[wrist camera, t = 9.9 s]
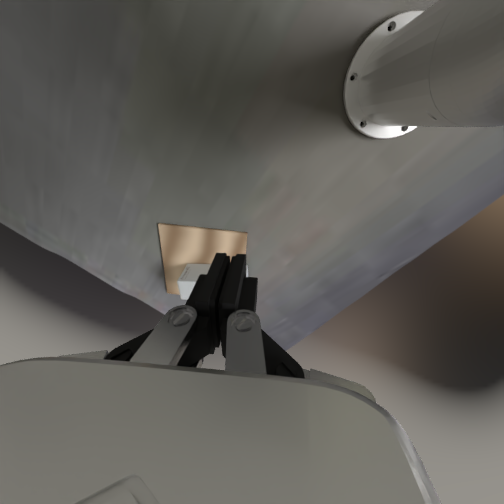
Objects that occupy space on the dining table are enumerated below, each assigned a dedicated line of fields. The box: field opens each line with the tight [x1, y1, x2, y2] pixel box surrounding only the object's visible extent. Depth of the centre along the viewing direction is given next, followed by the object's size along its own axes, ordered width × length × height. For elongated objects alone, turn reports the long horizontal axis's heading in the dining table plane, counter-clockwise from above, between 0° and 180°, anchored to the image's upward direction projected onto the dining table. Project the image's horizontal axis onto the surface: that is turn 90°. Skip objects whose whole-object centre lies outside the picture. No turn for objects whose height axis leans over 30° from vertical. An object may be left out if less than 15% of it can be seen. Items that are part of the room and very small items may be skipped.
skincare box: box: [177, 264, 248, 299], centre depth 42 cm, size 6×4×12 cm
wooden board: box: [158, 223, 247, 294], centre depth 44 cm, size 16×16×1 cm
